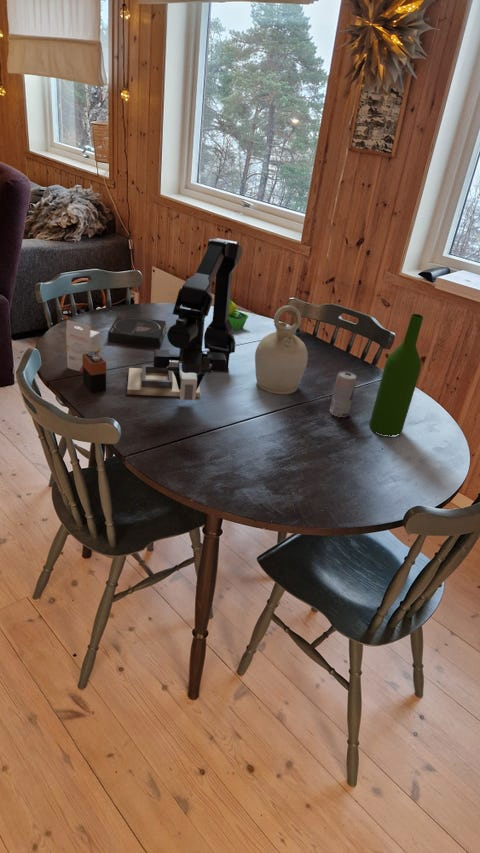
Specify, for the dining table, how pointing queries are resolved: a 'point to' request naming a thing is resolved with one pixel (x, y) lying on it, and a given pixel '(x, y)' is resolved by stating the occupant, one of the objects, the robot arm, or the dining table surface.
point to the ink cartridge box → (80, 343)
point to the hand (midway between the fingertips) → (187, 389)
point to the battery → (94, 372)
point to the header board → (153, 382)
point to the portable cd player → (137, 331)
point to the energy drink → (343, 394)
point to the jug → (281, 357)
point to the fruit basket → (236, 317)
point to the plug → (188, 386)
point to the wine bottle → (398, 383)
